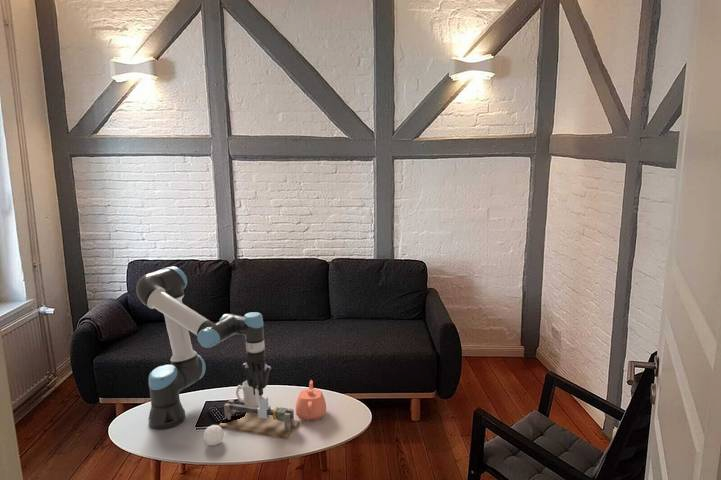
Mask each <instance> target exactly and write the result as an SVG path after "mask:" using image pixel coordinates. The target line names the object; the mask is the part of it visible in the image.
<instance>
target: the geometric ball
mask: <svg viewBox="0 0 721 480" xmlns="http://www.w3.org/2000/svg"><path fill="white" fill-rule="evenodd" d="M224 435H225V432H224V430H223V428H221V427H220V426H219V424H212V425H210V426H208V427H206V428H205V430H204V432H203V439H204V441H205V443H206V444H208V445H209V446H216V445H218V444H220V443H221V442H222V441H223V439H224Z"/></svg>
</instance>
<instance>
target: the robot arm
mask: <svg viewBox="0 0 721 480" xmlns="http://www.w3.org/2000/svg"><path fill="white" fill-rule="evenodd" d="M187 285H188V278H187V276H186V274H185V273H184V271H183V270H181V269H180V268H179V267H177V266H168V267H163V268H161V269H159V270H155V271H152V272H148V273H146V274H144V275H142V276H141V277H140V278H139V280H138V281H137V283H136V287H135V291H136V296H137V298H138V299H139V300H140V302H141V303H142V304H143V305H144V306H146V307H147V308H149V309H152V310H153V309H155V310H157V311H158V312H159V313H162V314H163V317H164V321H165V325H166V330H167V334H168V339H169V345H170V347H171V351H172V356H171V358H170V364H164V365H159V366H157V367H155V368H154V369H152V371H150V373H149V375H148V388H149V396H150V404H151V405H150V410H149V415H148V425H149V427H150V428H152V429H155V430H166V429H168V430H169V429H172V428H174V427H177V426H179V425H180V424H182V423H183V422H184V421H185V420H186V411H185V409H184V408H183V407H184V406H183V405H182V403H181V402H182V401H181V400H180V392H182V391H183V390H185V389H187V388H188V387H189V386H191V385H193V384H196V383H197V382H198V381H199V380H201V379H202V378H203V377H204V375H205V374H206V373H205V372H206V362H205V359H203V358H202V356H201V355H199V354H198V352H197V351H195V350H194V349H193V345H192V341H191V336H190V332H191V333H192V334H193V335H195V336H197V338H196V339H197V342H198V343H199V344H200V346H201V347H202V348H206V349H209V348H212V347H214V346H217V345H218V344H220V343H222V342H223V341H225V340H227V339H229V338H231V337H232V336H234V335H241V336H244V338H245V339H244V340H245V349H246V352H245V354H246V355H245V356H246V362H244V363H243V364H241V368H242V369H243V372H244V375H245V378H246V380H247V382H248V385H249V387H253V394H254V395H255V399H256V403H257V404H259V398H260V397H261V396H264V389H265V388H266V387H267V386H268V382H269V378H270V376H269V375H270V371H271V369H272V366H271V365H268V364H267V362H266V350H265V347H266V346H265V336H264V334H265V333H264V323H265V322H264V318H263V314H262V313H260V312H258V311H257V312H256V311H254V312H253V311H251V312H250V311H249V312H247V313H245V314H244V316H242V315H238V314H234V313H224V314H223V315H222V316H221V317H220V318H219V321H218V322H215V323H214V322H213V321H211V320H210V319H209V318H208V319H207V317H205V316H203V315H202V314H199V312H197V311H196V310H194V309H192V308H190V307H189V306H188V305H185V304H184V303H183V298H184V296H185V292H184V290H185V289H186V287H187ZM263 371H264V372H263ZM257 386H258V387H257Z"/></svg>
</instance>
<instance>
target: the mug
mask: <svg viewBox="0 0 721 480" xmlns="http://www.w3.org/2000/svg"><path fill="white" fill-rule="evenodd" d="M257 387H258V386H257ZM240 390H242V391H243V392H242V393H243V398H242V397H241V396H240V394H239V393H240ZM235 391H236V392H235V395H236V397H237V399H238V401H239V402H240V403H244V405H245V406H252V407H258V408H259V404H257V403H256V399H255V395H254V394H253V387H249V385H248V382H247V379H246V380H245V381H243V382H242V384H238V385H237V388H236V390H235Z"/></svg>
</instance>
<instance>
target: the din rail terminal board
mask: <svg viewBox="0 0 721 480" xmlns="http://www.w3.org/2000/svg"><path fill="white" fill-rule="evenodd" d="M258 408H259V407H252V406H245V405H243V404H240V403H239V404H238V403H235V399H229V400H228V402H226V403H225V404H224V405H223V409H224V410H223V411H224V419H226V418H227V419H228V420H230V419H231V414H234V413H235V411H241V412H246V414H245V416H244V417H242V418H240V419H237V420H233V421H231V422H228V423H221V422H220V423H219V424H218V425H219V426H220V427H221V428H222V429H227V430H232V431H238V432H244V433H250V434H256V435H262V436H267V437H272V438H279V439H286V440H289V438H290V437H291V436H292V434H294V432H295V431H296V429H297V428H298V427H299V425H300V423H301V422H300V421H301V420H295V417H294V416H295V413H294V408H287V407H278V406H277V407H274V409H268V410H267V415H270V416H269V417H268V418H267V419H264V418H258Z"/></svg>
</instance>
